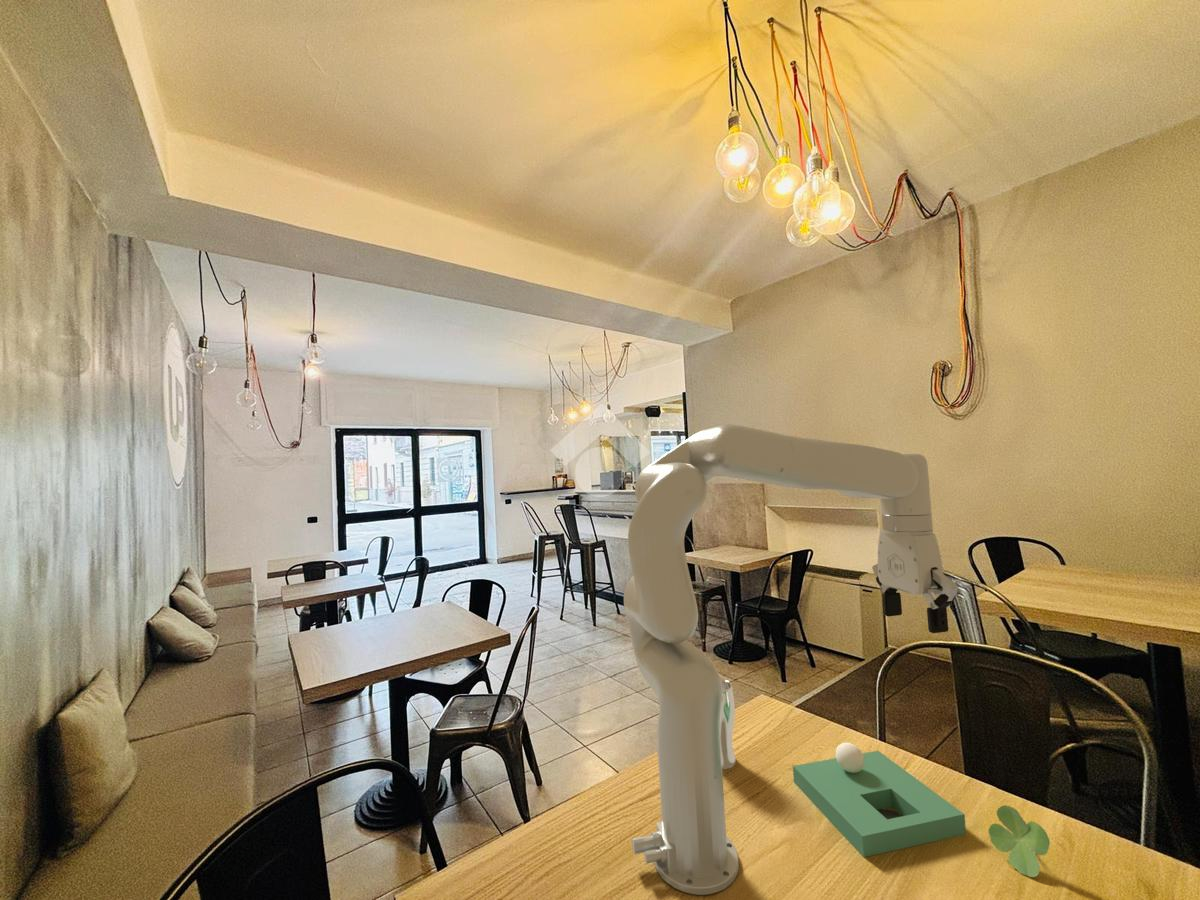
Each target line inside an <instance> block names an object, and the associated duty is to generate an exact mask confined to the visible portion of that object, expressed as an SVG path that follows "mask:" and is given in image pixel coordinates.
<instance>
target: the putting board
mask: <svg viewBox="0 0 1200 900" xmlns="http://www.w3.org/2000/svg"><path fill="white" fill-rule="evenodd" d="M862 754H863V756H864V766H863V768H862V769H861V770H860V771H859V772H856V773H851V772H848V771H846V770H844V769H843V768H842V767H841V766H840V765H839V763H838V762H837V759H836V757H834V758H829V759H824V760H819V761H814V762H807V763H803V764H797V765H792V773H793V774H792V775H793V776H792V777H793V783H794V784H795V785H796V786H797V787H798V789H800V791H801V792H802V793H803V794H804V795H805V796H806V797H807V798H808V799H809V800H810V802H812V804H813V805H815V807H816V809H818V810H819V811H820V812H821V813H822V815H824V816H825V818H826V819H827V820H828V821H829V823H831V824H832V825H833V826H834V827H835V828H836V829H837V831H838V832H840V833H841V834H842V836H843V837H844V838H845V839H846V840H847V841H848V842H849V843H850V844H851V845H852V846H853V847H854V848H855V849H856V851H857V852H858V853H859V854H860V855H861V856H862V857H863V858H867V857H871V856H876V855H881V854H884V853H889V852H893V851H898V850H903V849H906V848H911V847H915V846H919V845H920V846H921V845H925V844H930V843H932V842H937V841H943V840H947V839H950V838H954V837H955V838H956V837H960V836H964V835H966V834H967V829H966V819H965V818H966V816H965V815H966V814H965V813H963V812H962V811H961V810H960V809H958V808H956V807H955V805H952V803H951V802H949V801H947V799H945V798H943V797H942V796H941V795H939V794H938V793H936V792H935V791H933V790H932V789H931V788H930V787H929V786H927V785H926V784H924V783H923V782H922V781H920V780H919V779H917V778H916V777H915V776H913V775H912V774H910V773H909V772H908V771H907V770H905V769H904V768H902V767H901V766H900V765H898V764H897V763H896V762H894V761H893V760H892V759H890V757H887V756H886V755H885V754H884V753H882V752H881V751H879V750H874V751H869V752H862ZM889 808H894V809H895V810H890V809H889ZM896 811H897V812H896Z"/></svg>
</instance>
